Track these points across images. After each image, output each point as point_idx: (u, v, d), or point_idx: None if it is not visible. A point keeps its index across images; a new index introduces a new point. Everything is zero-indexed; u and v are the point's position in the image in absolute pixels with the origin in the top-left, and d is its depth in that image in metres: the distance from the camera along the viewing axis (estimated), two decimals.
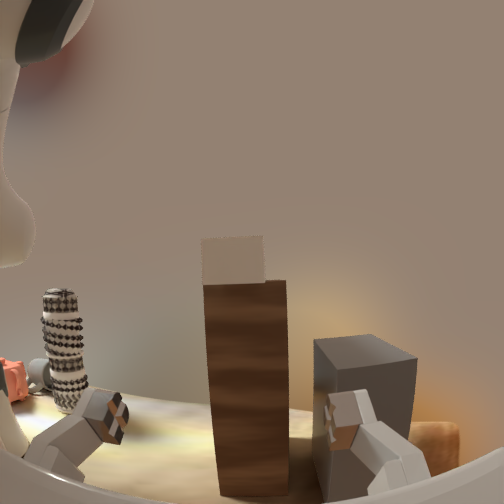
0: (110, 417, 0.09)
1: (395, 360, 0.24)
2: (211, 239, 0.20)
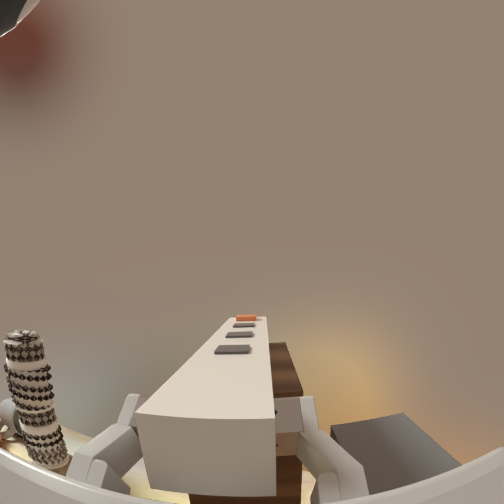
0: None
1: None
2: (157, 418, 0.07)
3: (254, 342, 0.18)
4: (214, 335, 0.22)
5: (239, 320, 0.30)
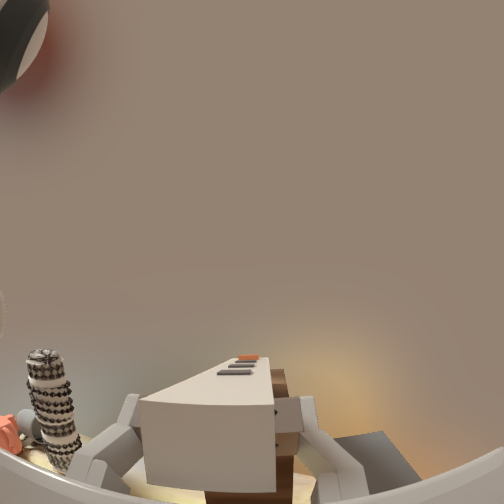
0: None
1: None
2: (160, 405, 0.08)
3: (256, 369, 0.19)
4: (217, 366, 0.22)
5: (241, 359, 0.29)
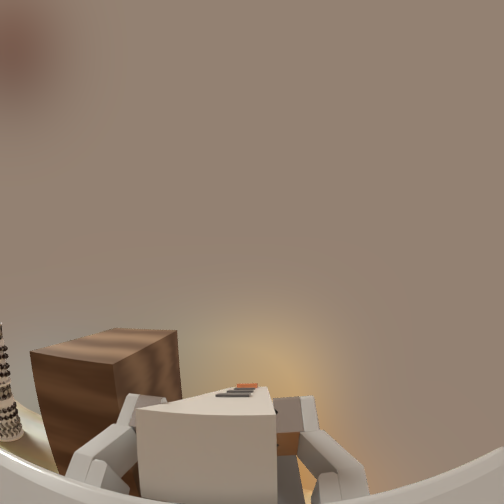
0: None
1: None
2: (158, 415, 0.07)
3: None
4: None
5: (240, 387, 0.28)
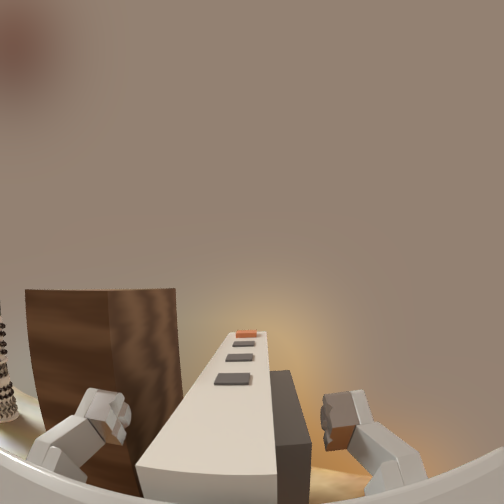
0: (113, 417, 0.09)
1: None
2: (158, 471, 0.07)
3: (254, 368, 0.18)
4: (213, 357, 0.21)
5: (239, 336, 0.29)
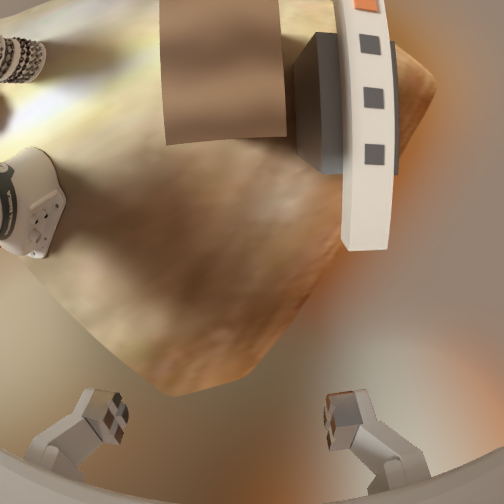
0: (110, 417, 0.09)
1: None
2: (355, 250, 0.28)
3: (385, 129, 0.23)
4: (352, 92, 0.22)
5: (358, 9, 0.18)
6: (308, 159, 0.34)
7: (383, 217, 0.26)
